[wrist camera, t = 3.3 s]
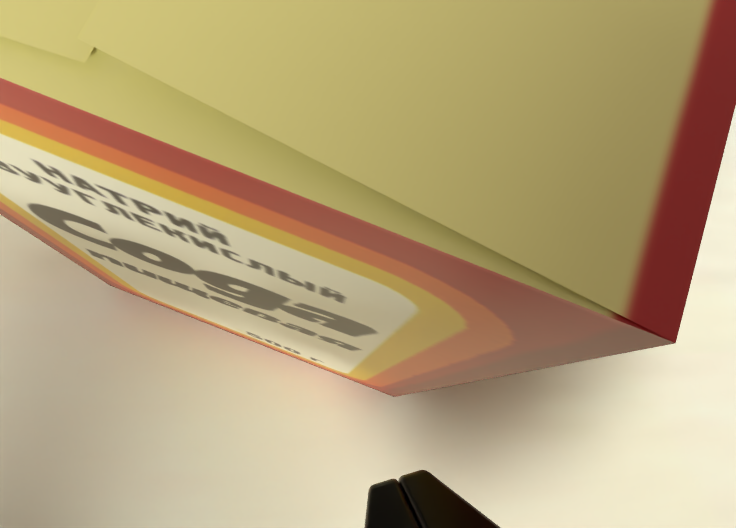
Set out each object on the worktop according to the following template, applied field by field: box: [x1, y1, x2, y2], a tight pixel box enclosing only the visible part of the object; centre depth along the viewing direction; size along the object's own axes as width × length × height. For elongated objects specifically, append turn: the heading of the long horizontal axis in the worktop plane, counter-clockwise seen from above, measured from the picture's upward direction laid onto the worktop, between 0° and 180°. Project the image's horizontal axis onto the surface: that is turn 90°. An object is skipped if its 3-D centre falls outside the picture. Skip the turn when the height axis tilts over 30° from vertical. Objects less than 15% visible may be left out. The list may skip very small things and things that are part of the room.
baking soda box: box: [0, 0, 736, 397], centre depth 13 cm, size 10×6×16 cm
